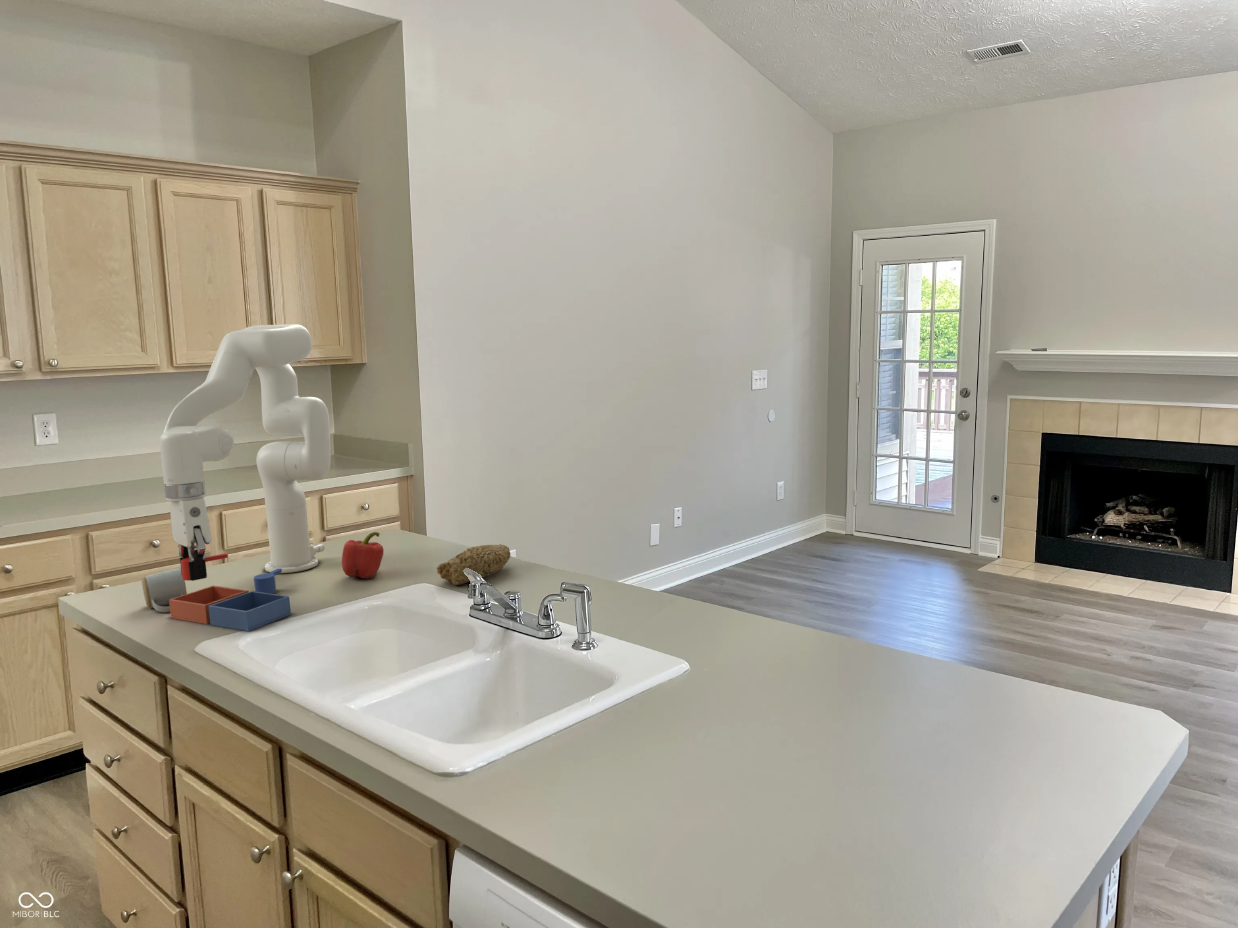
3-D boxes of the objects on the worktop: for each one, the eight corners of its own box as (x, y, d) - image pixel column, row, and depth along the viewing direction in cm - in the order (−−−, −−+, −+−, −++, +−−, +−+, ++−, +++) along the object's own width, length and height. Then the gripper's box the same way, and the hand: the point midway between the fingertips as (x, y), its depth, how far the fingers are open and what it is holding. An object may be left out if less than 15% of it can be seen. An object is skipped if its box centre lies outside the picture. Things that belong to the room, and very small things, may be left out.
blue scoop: (270, 595, 204) (268, 578, 204) (251, 595, 205) (249, 578, 204) (289, 584, 213) (288, 567, 213) (272, 584, 214) (270, 567, 213)
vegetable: (369, 567, 225) (365, 528, 224) (397, 573, 219) (394, 532, 218) (332, 578, 216) (328, 537, 215) (360, 584, 210) (356, 542, 209)
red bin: (215, 602, 201) (213, 585, 200) (250, 608, 196) (248, 590, 195) (171, 617, 191) (168, 599, 190) (206, 624, 186) (204, 605, 185)
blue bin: (253, 608, 195) (252, 590, 195) (291, 614, 190) (289, 596, 190) (210, 624, 185) (208, 605, 185) (248, 631, 180) (246, 611, 180)
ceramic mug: (143, 604, 201) (139, 570, 200) (184, 596, 206) (180, 564, 204) (149, 617, 193) (145, 582, 191) (191, 609, 197) (188, 574, 196)
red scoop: (186, 581, 187) (184, 562, 186) (179, 578, 190) (177, 559, 190) (232, 572, 193) (230, 554, 193) (224, 569, 196) (223, 551, 196)
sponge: (463, 594, 204) (531, 558, 216) (452, 562, 202) (520, 528, 215) (434, 593, 214) (500, 559, 226) (423, 563, 212) (490, 530, 225)
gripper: (218, 492, 184) (227, 580, 186) (190, 484, 196) (199, 566, 199) (179, 498, 179) (189, 588, 181) (152, 489, 191) (162, 573, 194)
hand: (194, 576), depth 190 cm, fingers closed on red scoop, 4 cm apart
